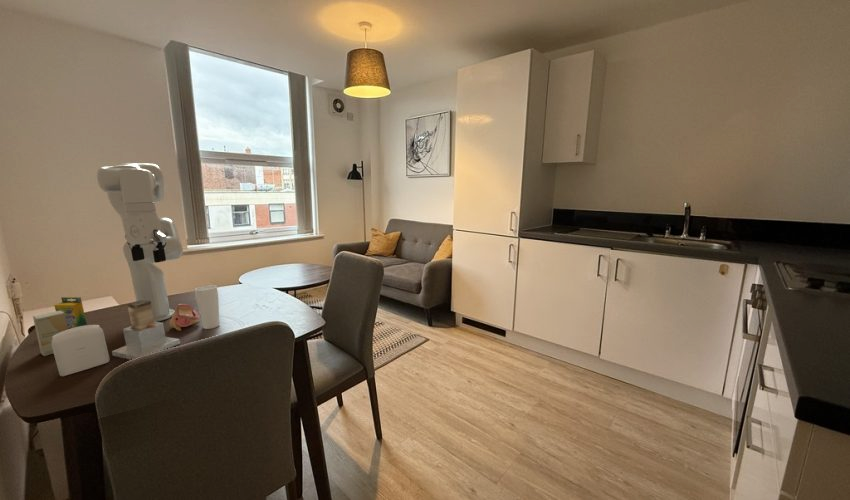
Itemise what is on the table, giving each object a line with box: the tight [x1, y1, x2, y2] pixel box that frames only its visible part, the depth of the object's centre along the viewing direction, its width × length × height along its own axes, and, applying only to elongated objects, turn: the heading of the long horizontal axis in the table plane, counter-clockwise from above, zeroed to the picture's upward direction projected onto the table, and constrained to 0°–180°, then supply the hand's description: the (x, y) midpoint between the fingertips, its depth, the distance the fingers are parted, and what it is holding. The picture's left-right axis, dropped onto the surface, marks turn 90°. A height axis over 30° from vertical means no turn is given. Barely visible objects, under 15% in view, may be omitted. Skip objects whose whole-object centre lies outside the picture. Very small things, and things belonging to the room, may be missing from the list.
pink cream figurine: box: [169, 303, 200, 331], centre depth 122 cm, size 9×10×10 cm
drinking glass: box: [194, 284, 221, 330], centre depth 120 cm, size 7×7×15 cm
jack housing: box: [111, 321, 181, 361], centre depth 104 cm, size 12×12×8 cm
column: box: [126, 300, 155, 330], centre depth 104 cm, size 4×4×14 cm
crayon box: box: [54, 296, 88, 329], centre depth 120 cm, size 7×3×12 cm, turn 90°
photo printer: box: [52, 324, 111, 377], centre depth 94 cm, size 10×4×12 cm, turn 140°
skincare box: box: [32, 310, 68, 357], centre depth 104 cm, size 6×4×12 cm
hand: (149, 260), depth 109 cm, fingers open, 9 cm apart
